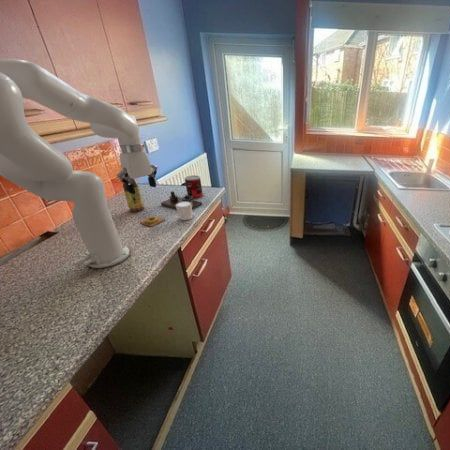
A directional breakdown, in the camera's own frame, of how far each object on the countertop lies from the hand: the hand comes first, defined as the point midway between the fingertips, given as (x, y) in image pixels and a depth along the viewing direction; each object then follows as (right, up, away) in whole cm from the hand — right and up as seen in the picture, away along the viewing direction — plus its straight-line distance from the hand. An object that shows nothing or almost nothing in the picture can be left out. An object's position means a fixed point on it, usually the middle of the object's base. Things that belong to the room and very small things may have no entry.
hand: (143, 189), depth 106 cm
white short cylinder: (+13, -12, +13) cm, 21 cm away
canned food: (+7, +2, +37) cm, 38 cm away
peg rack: (+5, -4, +25) cm, 26 cm away
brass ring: (-1, -13, +7) cm, 15 cm away
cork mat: (-1, -14, +8) cm, 16 cm away
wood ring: (+9, -2, +22) cm, 24 cm away
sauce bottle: (-15, -7, +19) cm, 25 cm away
